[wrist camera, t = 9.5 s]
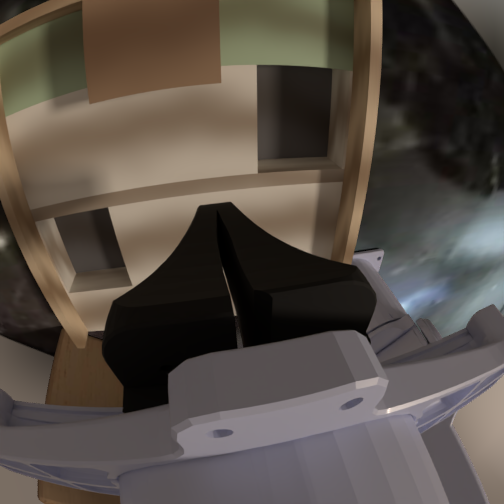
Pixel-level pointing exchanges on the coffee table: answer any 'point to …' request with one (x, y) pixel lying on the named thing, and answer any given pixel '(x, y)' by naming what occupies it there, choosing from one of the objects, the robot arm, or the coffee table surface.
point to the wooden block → (80, 403)
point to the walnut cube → (149, 45)
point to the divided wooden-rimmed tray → (185, 145)
